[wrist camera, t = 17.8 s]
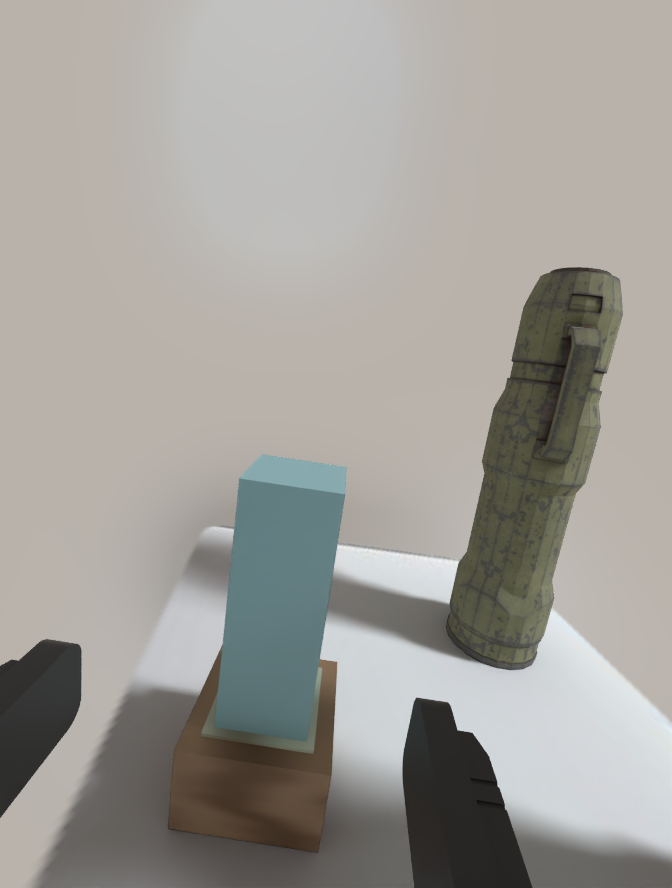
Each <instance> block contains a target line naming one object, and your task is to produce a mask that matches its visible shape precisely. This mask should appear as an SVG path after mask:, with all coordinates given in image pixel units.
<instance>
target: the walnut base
mask: <svg viewBox="0 0 672 888" xmlns="http://www.w3.org/2000/svg"><path fill="white" fill-rule="evenodd" d="M222 647H223V645H222ZM222 647H221V649H220V651H219V653H218V656H217V658H216V660H215V662H214V664H213V667H212V669H211V671H210V673H209V675H208V678H207V680H206V682H205V684H204V686H203V688H202V691H201V693H200V695H199V697H198V699H197V702H196V704H195V706H194V708H193V710H192V713H191V715H190V717H189V719H188V721H187V723H186V726H185V728H184V730H183V732H182V734H181V737H180V739H179V741H178V743H177V745H176V748H175V750H174V757H173V770H172V783H171V795H170V808H169V821H168V829H174V830H180V831H186V832H192V833H199V834H205V835H211V836H217V837H224V838H230V839H236V840H242V841H249V842H255V843H261V844H267V845H274V846H280V847H286V848H293V849H299V850H305V851H311V852H318V849H319V844H320V838H321V832H322V826H323V821H324V815H325V809H326V803H327V798H328V792H329V786H330V780H331V772H332V753H333V734H334V715H335V695H336V676H337V662H334V661H327V660H321V659H319V665H318V672H317V678H316V685H315V691H314V697H313V704H312V710H311V717H310V723H309V730H308V736H307V741H301V740H294V739H288V738H281V737H275V736H268V735H262V734H255V733H249V732H242V731H236V730H229V729H223V728H216V727H214V726H215V716H216V706H217V696H218V686H219V677H220V667H221V657H222Z"/></svg>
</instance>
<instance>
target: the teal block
mask: <svg viewBox="0 0 672 888" xmlns="http://www.w3.org/2000/svg"><path fill="white" fill-rule="evenodd" d="M345 487H346V467H342V466H336V465H329V464H322V463H316V462H309V461H302V460H295V459H289V458H282V457H275V456H269V455H261V456H260V457H259V458H258V459H257V460H256V461H255V462H254V463H253V465H252V466H251V467H250V468H249V469H248V470H247V471H246V472H245V473H244V474H243V475H242V476H241V477H240V479H239V489H238V498H237V509H236V518H235V527H234V537H233V547H232V557H231V567H230V577H229V587H228V597H227V607H226V617H225V627H224V637H223V647H222V657H221V667H220V677H219V686H218V696H217V706H216V716H215V726H214V727H216V728H223V729H229V730H236V731H242V732H249V733H255V734H262V735H268V736H275V737H281V738H288V739H294V740H301V741H307V736H308V730H309V723H310V717H311V710H312V704H313V697H314V691H315V685H316V678H317V672H318V665H319V659H320V653H321V646H322V640H323V633H324V627H325V620H326V614H327V608H328V601H329V595H330V588H331V582H332V576H333V569H334V563H335V556H336V550H337V543H338V537H339V531H340V524H341V518H342V510H343V504H344V498H345Z"/></svg>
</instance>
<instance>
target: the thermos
mask: <svg viewBox="0 0 672 888" xmlns="http://www.w3.org/2000/svg"><path fill="white" fill-rule="evenodd" d="M622 312H623V311H622V296H621V285H620V280H619V278H617V277H615V276H612V275H611V273H609V272H607V271H604V270H600V269H593V268H580V267H578V268H561V269H556V270H553V271H551V272H550V273H547V274H544V275H542V276H541V277H540V278H539V280H538V282H537V284H536V285H535V287H534V289H533V291H532V292H531V294H530V296H529V298H528V300H527V301H526V303H525V305H524V308H523V312H522V317H521V321H520V326H519V330H518V334H517V339H516V343H515V348H514V352H513V356H512V362H514V363H513V367H512V371H511V375H510V378H508V379H507V383H506V387H505V390H504V392H503V394H502V395H501V397H500V399H499V400H498V402H497V404H496V405H495V407H494V410H493V414H492V419H491V423H490V428H489V432H488V437H487V441H486V446H485V450H484V455H483V459H482V463H483V468H484V473H485V474H484V478H483V482H482V487H481V492H480V496H479V501H478V505H477V509H476V514H475V518H474V522H473V527H472V531H471V536H470V540H469V545H468V549H467V552H466V554H465V555H464V557H463V558H462V559H461V561H460V562H459V564H458V568H457V573H456V577H455V581H454V586H453V590H452V595H451V599H450V608H451V610H450V614H449V616H448V620H447V625H446V628H447V632H448V635H449V636H450V638H451V639H452V640H453V642H454V643H455V644H456V645H457V646H458V647H459V648H460V649H461V650H463V651H464V652H465V653H466V654H468V655H470V656H471V657H473V658H475V659H477V660H478V661H480V662H483V663H485V664H488V665H491V666H493V667H496V668H502V669H508V670H516V669H524V668H526V667H528V666H530V665H532V663H533V662H534V660H535V658H536V654H537V647H538V644H539V642H540V641H541V639H542V637H543V636H544V633H545V629H546V626H547V622H548V618H549V615H550V611H551V608H552V604H553V600H554V594H553V586H552V578H553V575H554V571H555V567H556V564H557V560H558V556H559V553H560V549H561V546H562V542H563V538H564V535H565V531H566V527H567V524H568V520H569V516H570V513H571V509H572V506H573V502H574V498H575V495H576V493H577V492H578V490H579V489H580V488H581V487H582V486H583V485H584V484H585V482H586V478H587V474H588V471H589V467H590V463H591V460H592V457H593V453H594V449H595V446H596V442H597V438H598V435H599V431H600V428H601V425H600V414H599V400H600V397H601V393H602V391H599V390H600V386H601V382H602V378H603V375H604V373H607V370H608V367H609V363H610V360H611V355H612V352H613V349H614V345H615V341H616V338H617V333H618V330H619V326H620V323H621V319H622V315H623V313H622Z"/></svg>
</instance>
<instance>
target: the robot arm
mask: <svg viewBox="0 0 672 888" xmlns="http://www.w3.org/2000/svg"><path fill="white" fill-rule="evenodd" d="M80 701H81V647H80V646H79V645H78V644H74V643H68V642H61V641H55V640H48V639H46V640H43V641H41V642H39V643H38V644H37V645H36V646H35V647H33V649H31V650H30V651H29V652H28V653H27V654H26V655H25V656H24V657H22V658H21V659H20V660H19V661H17V660H10V661H9V662H7V663H5V664H3V665H1V666H0V818H1V816H2V815H3V814H4V812H5V811H6V810H7V808H8V807H9V806H10V805H11V803H12V802H13V801H14V799H15V798H16V797H17V795H18V794H19V793H20V792H21V790H22V789H23V788H24V786H25V785H26V784H27V782H28V781H29V780H30V779H31V777H32V776H33V775H34V773H35V772H36V771H37V769H38V768H39V767H40V765H41V764H42V763H43V762H44V760H45V759H46V758H47V756H48V755H49V754H50V753H51V751H52V750H53V749H54V747H55V746H56V745H57V743H58V742H59V741H60V740H61V738H62V737H63V736H64V734H65V733H66V732H67V730H68V729H69V728H70V726H71V724H72V722H73V721H74V719H75V717H76V714H77V712H78V709H79V706H80ZM403 788H404V797H405V806H406V815H407V824H408V834H409V843H410V852H411V861H412V870H413V879H414V888H532V885H531V882H530V879H529V876H528V873H527V870H526V867H525V864H524V861H523V858H522V855H521V852H520V849H519V846H518V843H517V840H516V837H515V834H514V831H513V828H512V825H511V822H510V819H509V816H508V813H507V810H505V804H504V801H503V798H502V795H501V792H500V789H499V787H498V786H497V780H496V777H495V774H494V771H493V767H492V764H491V761H490V758H489V756H488V754H487V753H486V752H485V750H484V749H483V747H482V746H481V744H480V743H479V742H478V740H477V739H476V737H475V736H474V735H473V733H470V732H464V731H457V727H456V724H455V720H454V716H453V713H452V709H451V706H450V704H449V703H448V702H442V701H435V700H429V699H422V698H416V699H415V701H414V705H413V710H412V715H411V719H410V724H409V729H408V734H407V738H406V743H405V748H404V754H403Z"/></svg>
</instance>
